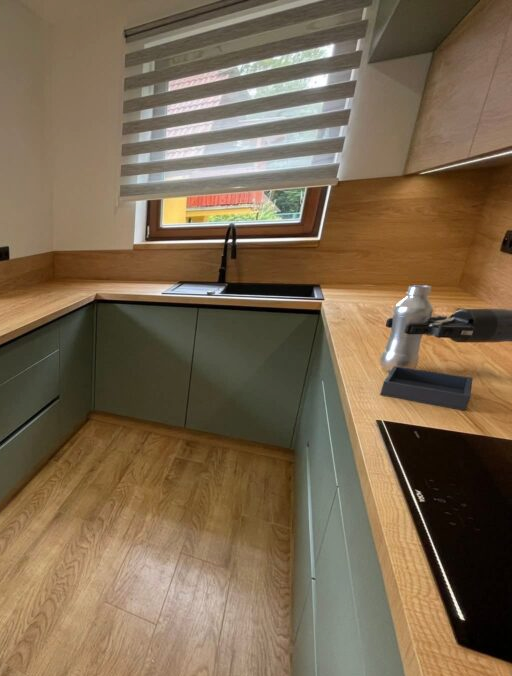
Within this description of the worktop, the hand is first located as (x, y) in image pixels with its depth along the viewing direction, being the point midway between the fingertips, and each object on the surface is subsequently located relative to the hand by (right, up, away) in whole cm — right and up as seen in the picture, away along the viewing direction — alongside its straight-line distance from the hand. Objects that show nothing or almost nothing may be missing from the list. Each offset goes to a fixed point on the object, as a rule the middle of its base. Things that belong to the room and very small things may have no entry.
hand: (396, 325), depth 99 cm
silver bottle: (+3, -11, +3) cm, 11 cm away
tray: (-3, -15, -9) cm, 18 cm away
